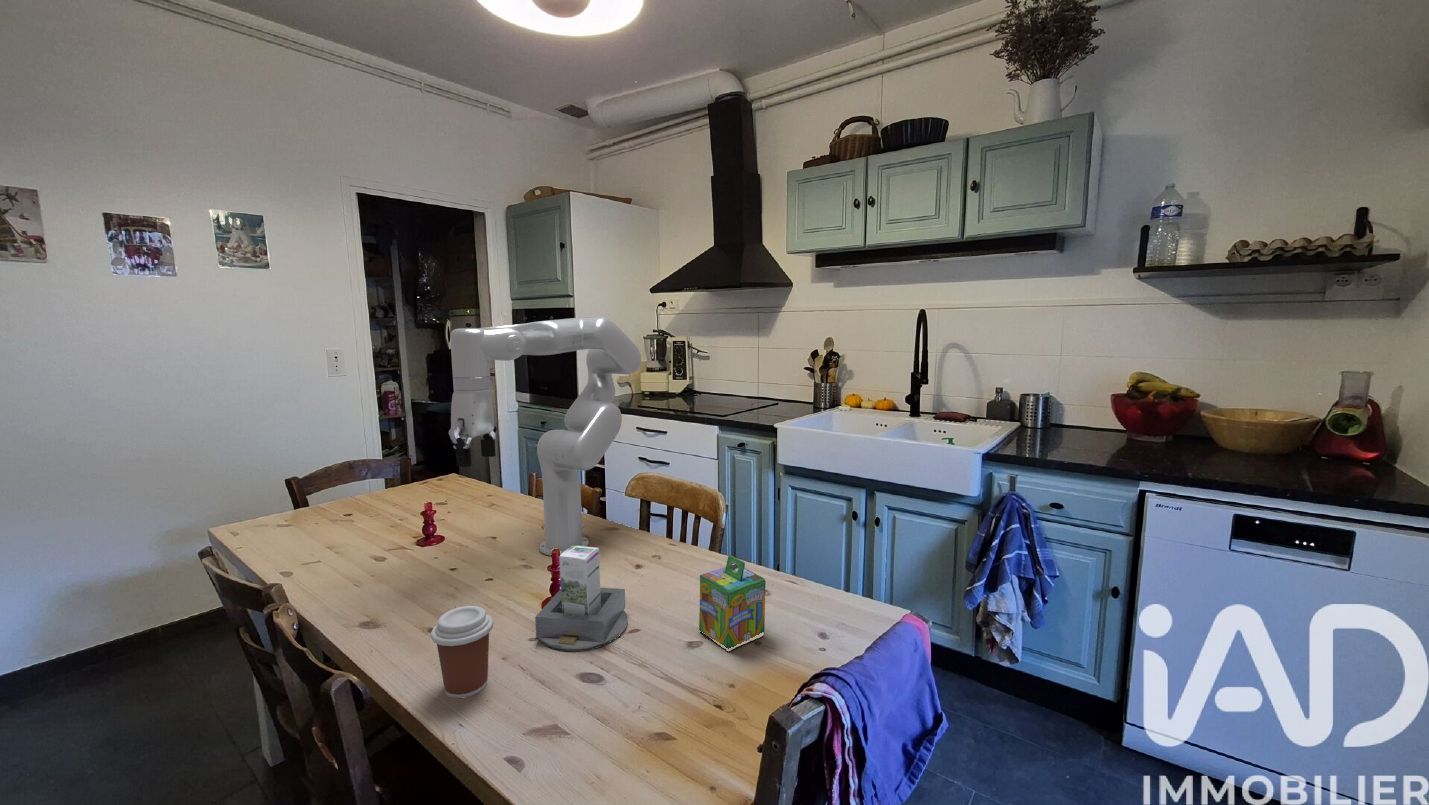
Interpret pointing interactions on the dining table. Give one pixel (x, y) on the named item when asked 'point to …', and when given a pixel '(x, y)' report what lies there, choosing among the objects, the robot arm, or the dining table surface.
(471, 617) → the coffee cup
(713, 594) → the chalk box
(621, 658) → the dining table surface
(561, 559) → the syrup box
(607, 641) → the open box
